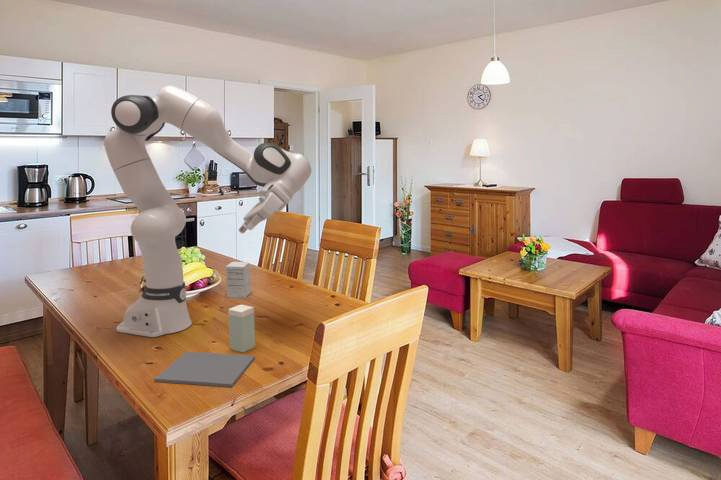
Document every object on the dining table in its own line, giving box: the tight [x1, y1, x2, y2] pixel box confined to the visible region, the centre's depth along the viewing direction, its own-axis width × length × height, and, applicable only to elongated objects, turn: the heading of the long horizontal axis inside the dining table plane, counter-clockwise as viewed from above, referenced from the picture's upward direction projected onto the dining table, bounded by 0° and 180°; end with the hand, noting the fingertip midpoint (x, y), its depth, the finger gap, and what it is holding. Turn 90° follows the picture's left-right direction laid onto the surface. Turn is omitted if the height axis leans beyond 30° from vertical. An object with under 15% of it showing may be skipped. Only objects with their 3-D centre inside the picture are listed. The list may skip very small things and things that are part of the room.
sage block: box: [228, 304, 256, 353], centre depth 135 cm, size 5×5×12 cm
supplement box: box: [225, 261, 252, 299], centre depth 184 cm, size 7×7×13 cm
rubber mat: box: [154, 351, 256, 388], centre depth 123 cm, size 20×16×1 cm
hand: (244, 230), depth 139 cm, fingers open, 8 cm apart
